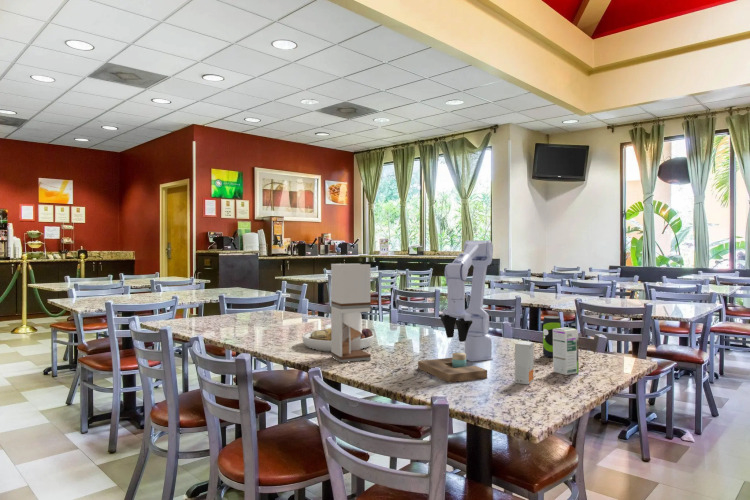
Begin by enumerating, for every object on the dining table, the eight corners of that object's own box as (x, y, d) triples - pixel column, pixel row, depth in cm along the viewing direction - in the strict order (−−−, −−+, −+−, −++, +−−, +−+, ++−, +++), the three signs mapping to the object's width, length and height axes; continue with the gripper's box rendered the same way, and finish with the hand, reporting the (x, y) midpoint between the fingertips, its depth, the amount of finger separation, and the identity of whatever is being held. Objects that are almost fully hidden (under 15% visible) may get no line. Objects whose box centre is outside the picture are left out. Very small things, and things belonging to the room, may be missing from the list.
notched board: (453, 364, 180) (453, 357, 180) (487, 378, 161) (487, 370, 161) (418, 368, 174) (418, 361, 174) (448, 382, 156) (448, 374, 156)
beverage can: (558, 354, 196) (558, 315, 195) (562, 358, 189) (562, 318, 189) (541, 354, 196) (541, 315, 196) (545, 358, 190) (545, 317, 190)
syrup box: (566, 375, 164) (566, 330, 164) (552, 371, 170) (552, 327, 170) (579, 373, 167) (579, 329, 167) (564, 369, 172) (564, 326, 172)
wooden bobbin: (461, 370, 172) (461, 352, 172) (468, 373, 168) (469, 355, 168) (449, 371, 170) (449, 353, 170) (456, 374, 166) (456, 356, 166)
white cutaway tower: (341, 363, 182) (340, 264, 182) (331, 357, 192) (331, 263, 192) (370, 360, 187) (370, 264, 186) (359, 354, 196) (359, 263, 196)
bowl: (292, 352, 203) (292, 332, 202) (314, 338, 232) (314, 321, 232) (367, 354, 198) (367, 334, 197) (379, 340, 227) (379, 323, 227)
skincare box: (528, 385, 153) (528, 345, 153) (514, 383, 156) (514, 343, 155) (534, 380, 158) (534, 341, 158) (520, 378, 161) (520, 340, 161)
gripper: (434, 297, 177) (434, 336, 177) (457, 301, 163) (457, 344, 164) (452, 296, 180) (452, 335, 180) (476, 300, 166) (476, 342, 166)
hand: (456, 339), depth 172 cm, fingers open, 7 cm apart
